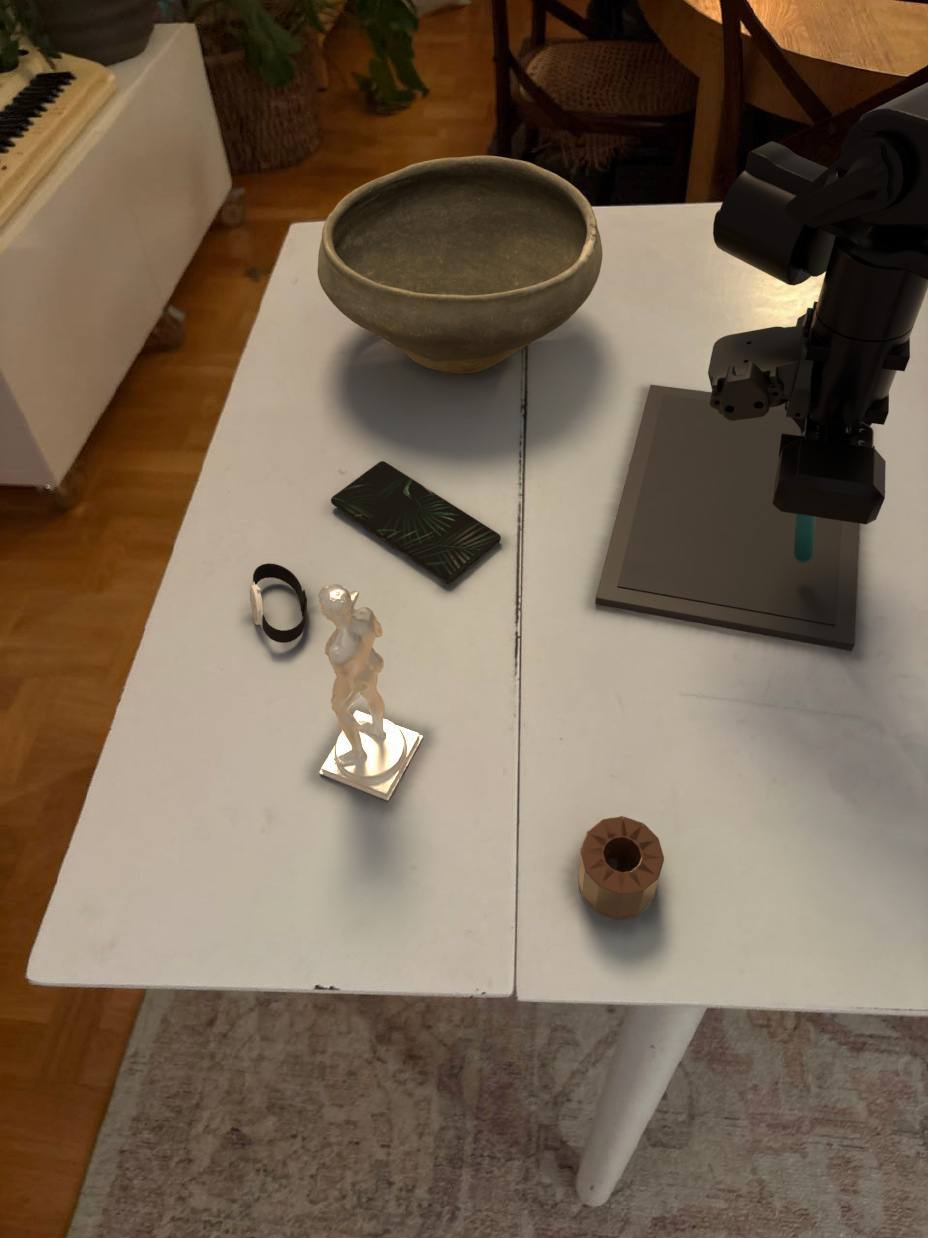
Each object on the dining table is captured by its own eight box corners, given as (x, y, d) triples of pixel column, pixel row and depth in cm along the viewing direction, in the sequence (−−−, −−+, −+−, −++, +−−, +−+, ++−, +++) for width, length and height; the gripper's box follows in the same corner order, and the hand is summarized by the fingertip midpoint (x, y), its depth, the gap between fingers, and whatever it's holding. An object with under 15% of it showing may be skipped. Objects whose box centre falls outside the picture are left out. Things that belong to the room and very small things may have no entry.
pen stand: (644, 841, 61) (651, 811, 58) (664, 913, 58) (672, 886, 55) (571, 852, 61) (574, 823, 58) (587, 925, 58) (591, 899, 55)
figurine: (372, 684, 71) (332, 523, 57) (446, 722, 68) (423, 564, 54) (306, 766, 67) (245, 615, 52) (381, 810, 64) (339, 663, 50)
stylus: (807, 551, 72) (817, 421, 63) (815, 563, 71) (826, 433, 62) (790, 556, 72) (797, 427, 63) (797, 568, 71) (806, 439, 62)
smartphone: (448, 581, 75) (328, 498, 82) (449, 588, 76) (330, 506, 83) (503, 534, 78) (382, 458, 85) (503, 542, 79) (383, 466, 86)
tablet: (649, 391, 90) (650, 383, 90) (860, 418, 86) (863, 410, 85) (594, 604, 74) (595, 596, 73) (851, 651, 70) (855, 643, 69)
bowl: (314, 425, 90) (283, 299, 79) (356, 271, 107) (336, 149, 96) (597, 427, 88) (607, 297, 76) (595, 269, 104) (603, 143, 93)
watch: (245, 588, 78) (234, 559, 75) (298, 572, 78) (289, 543, 76) (263, 656, 73) (252, 628, 70) (320, 638, 74) (311, 610, 71)
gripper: (744, 222, 62) (709, 405, 74) (710, 392, 51) (676, 573, 64) (917, 237, 60) (852, 424, 72) (921, 419, 49) (843, 602, 61)
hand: (804, 499), depth 67 cm, fingers closed on stylus, 1 cm apart
